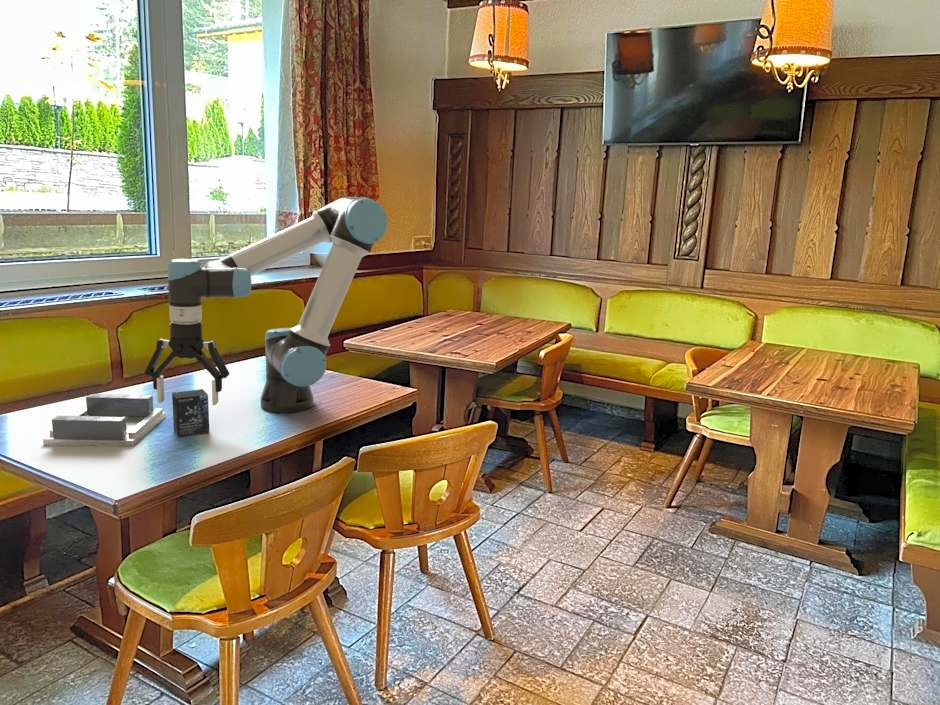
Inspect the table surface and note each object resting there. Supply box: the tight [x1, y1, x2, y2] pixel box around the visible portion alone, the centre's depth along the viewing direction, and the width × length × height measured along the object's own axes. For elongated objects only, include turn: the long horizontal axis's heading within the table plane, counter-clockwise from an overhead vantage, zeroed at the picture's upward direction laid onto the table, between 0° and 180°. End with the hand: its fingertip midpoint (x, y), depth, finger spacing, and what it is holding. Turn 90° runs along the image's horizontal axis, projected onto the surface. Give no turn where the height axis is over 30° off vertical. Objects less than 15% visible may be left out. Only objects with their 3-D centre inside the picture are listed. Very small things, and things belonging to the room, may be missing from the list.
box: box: [171, 388, 210, 438], centre depth 181 cm, size 8×6×11 cm
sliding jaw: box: [85, 393, 155, 416], centre depth 187 cm, size 16×3×5 cm, turn 94°
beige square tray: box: [42, 406, 166, 447], centre depth 180 cm, size 21×22×6 cm
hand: (188, 402), depth 180 cm, fingers open, 13 cm apart
